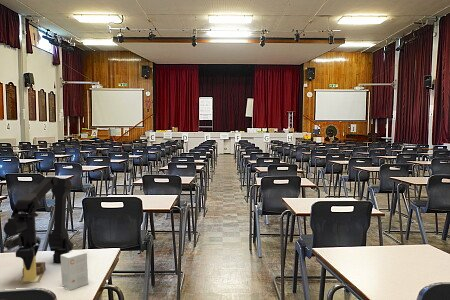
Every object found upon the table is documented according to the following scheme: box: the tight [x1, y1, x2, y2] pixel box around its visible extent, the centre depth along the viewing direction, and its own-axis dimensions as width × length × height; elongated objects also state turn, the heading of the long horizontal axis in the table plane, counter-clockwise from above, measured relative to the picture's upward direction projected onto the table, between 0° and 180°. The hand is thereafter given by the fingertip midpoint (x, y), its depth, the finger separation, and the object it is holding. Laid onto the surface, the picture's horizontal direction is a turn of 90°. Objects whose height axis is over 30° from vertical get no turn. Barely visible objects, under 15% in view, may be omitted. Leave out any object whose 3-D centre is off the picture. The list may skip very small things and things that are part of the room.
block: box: [22, 255, 37, 281], centre depth 168 cm, size 4×4×9 cm
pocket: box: [22, 261, 47, 277], centre depth 177 cm, size 8×8×3 cm
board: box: [17, 272, 45, 286], centre depth 172 cm, size 8×17×1 cm, turn 15°
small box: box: [60, 249, 89, 291], centre depth 163 cm, size 8×6×13 cm
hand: (29, 267), depth 168 cm, fingers open, 7 cm apart
